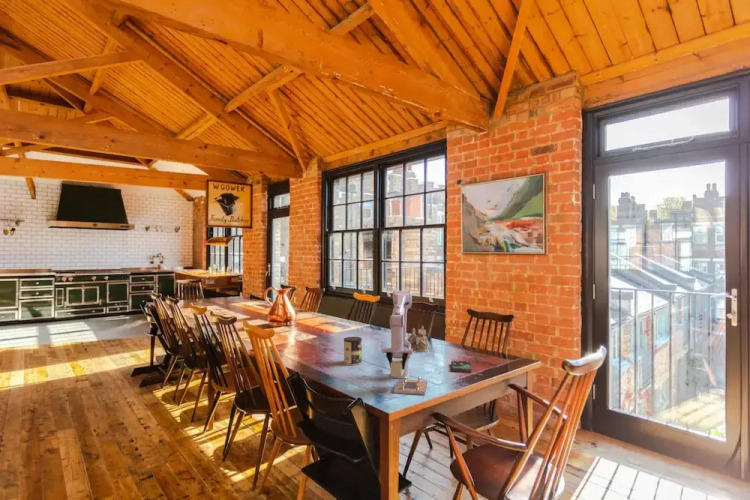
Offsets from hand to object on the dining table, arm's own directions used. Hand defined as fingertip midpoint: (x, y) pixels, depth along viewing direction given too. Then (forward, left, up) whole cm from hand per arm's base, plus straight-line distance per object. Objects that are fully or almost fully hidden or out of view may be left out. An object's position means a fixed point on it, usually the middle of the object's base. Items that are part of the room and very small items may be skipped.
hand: (397, 368), depth 197 cm
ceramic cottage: (-77, +1, -9) cm, 77 cm away
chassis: (0, +6, -9) cm, 11 cm away
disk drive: (-37, +29, -10) cm, 49 cm away
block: (0, 0, -2) cm, 2 cm away
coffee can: (-37, -32, -9) cm, 50 cm away
